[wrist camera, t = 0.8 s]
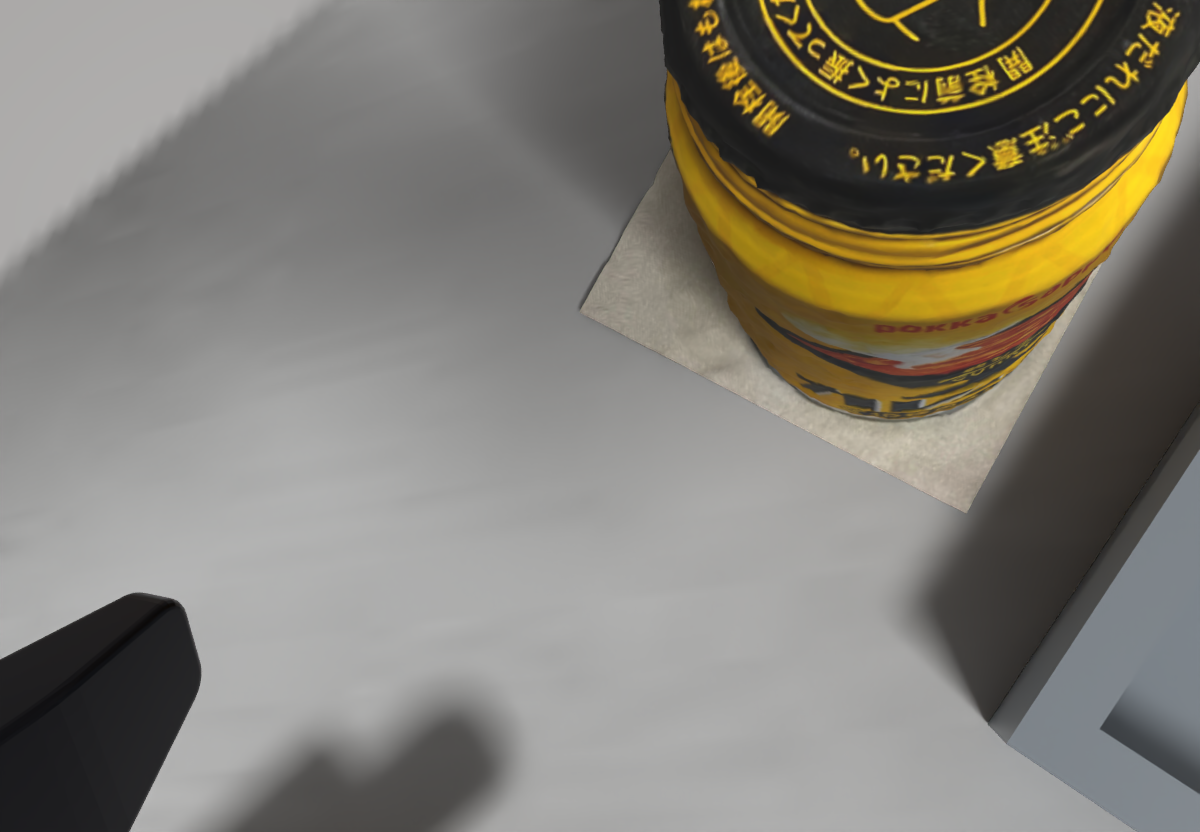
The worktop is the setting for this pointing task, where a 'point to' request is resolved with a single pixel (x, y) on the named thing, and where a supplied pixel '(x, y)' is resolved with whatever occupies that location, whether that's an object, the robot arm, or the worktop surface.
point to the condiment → (894, 207)
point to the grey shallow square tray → (1126, 663)
